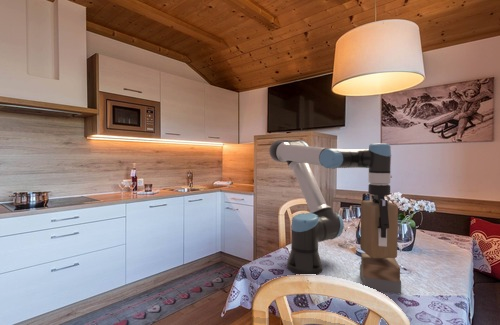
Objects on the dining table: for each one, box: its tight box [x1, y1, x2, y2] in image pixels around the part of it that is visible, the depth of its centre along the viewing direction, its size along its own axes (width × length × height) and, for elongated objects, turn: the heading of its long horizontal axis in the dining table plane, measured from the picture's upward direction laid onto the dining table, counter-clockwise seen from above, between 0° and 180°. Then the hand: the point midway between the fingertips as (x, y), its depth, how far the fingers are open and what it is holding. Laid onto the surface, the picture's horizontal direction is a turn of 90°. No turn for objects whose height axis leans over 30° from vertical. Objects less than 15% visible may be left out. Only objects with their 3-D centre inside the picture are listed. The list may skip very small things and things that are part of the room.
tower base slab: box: [359, 264, 402, 295], centre depth 102 cm, size 12×12×5 cm
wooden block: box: [359, 200, 399, 259], centre depth 101 cm, size 10×10×20 cm
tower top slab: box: [360, 252, 401, 282], centre depth 102 cm, size 12×12×5 cm
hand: (378, 240), depth 101 cm, fingers closed on wooden block, 11 cm apart
